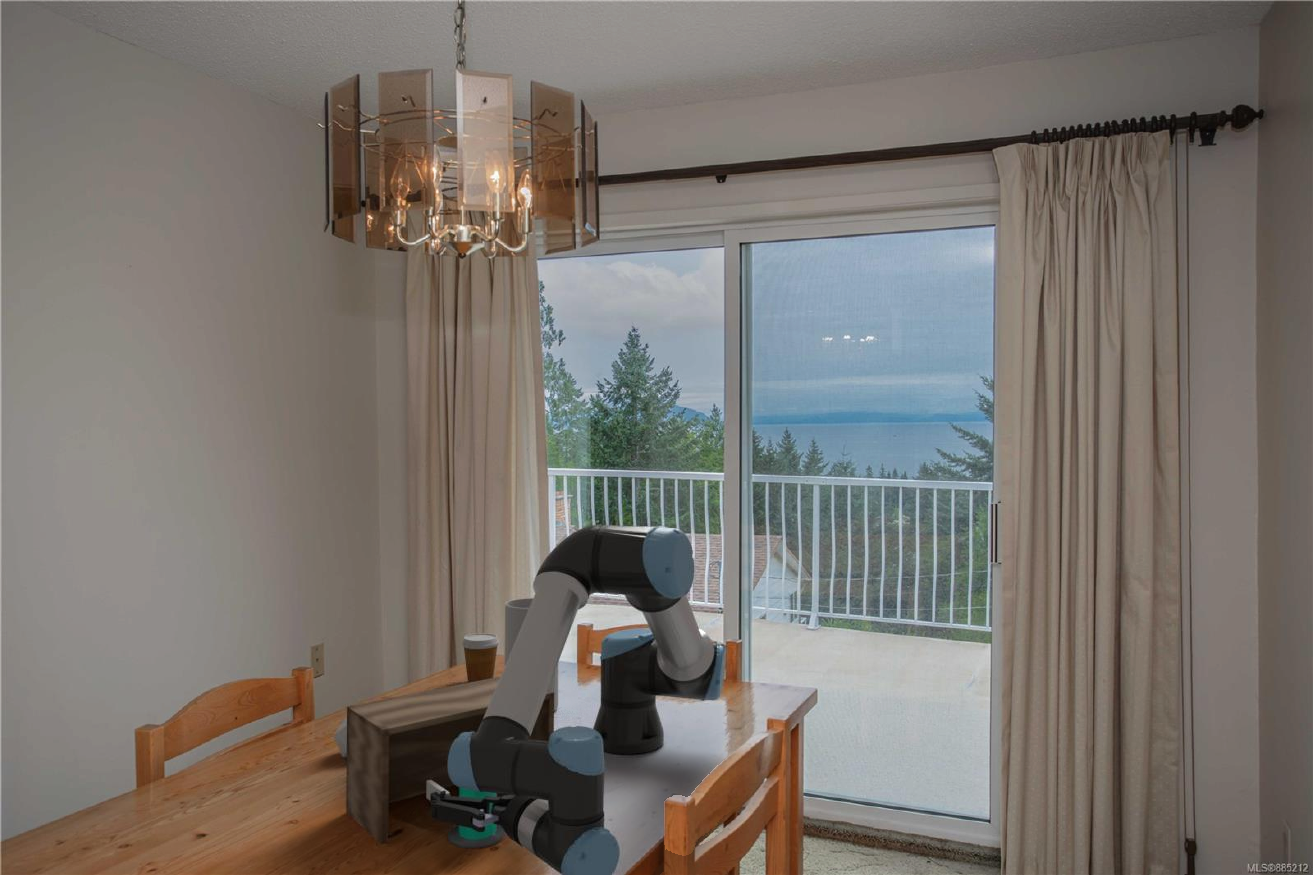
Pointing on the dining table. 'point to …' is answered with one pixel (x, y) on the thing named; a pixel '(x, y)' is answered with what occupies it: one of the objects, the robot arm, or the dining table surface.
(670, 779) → the dining table surface
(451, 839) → the coaster
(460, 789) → the candle
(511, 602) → the cylinder vase
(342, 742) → the die
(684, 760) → the dining table surface
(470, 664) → the disposable coffee cup
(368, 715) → the cubby
